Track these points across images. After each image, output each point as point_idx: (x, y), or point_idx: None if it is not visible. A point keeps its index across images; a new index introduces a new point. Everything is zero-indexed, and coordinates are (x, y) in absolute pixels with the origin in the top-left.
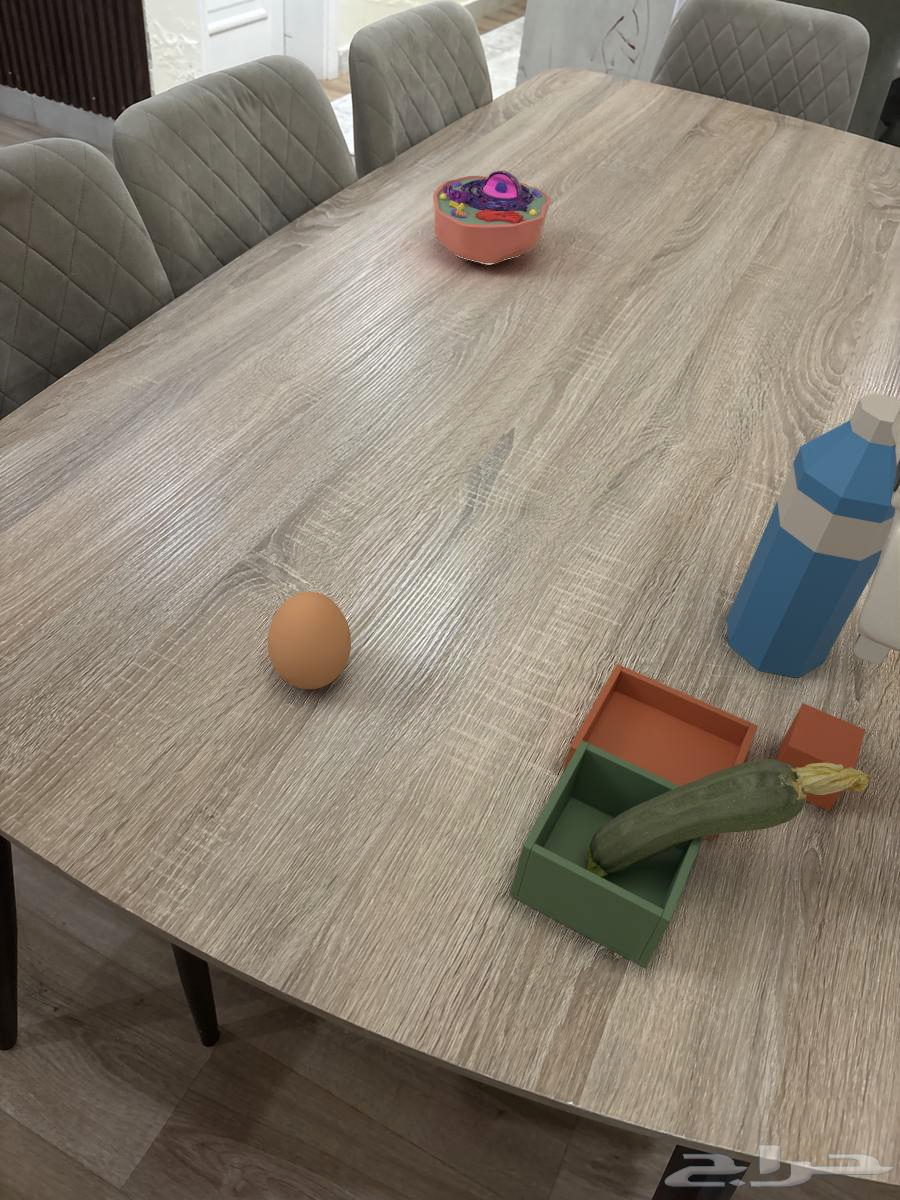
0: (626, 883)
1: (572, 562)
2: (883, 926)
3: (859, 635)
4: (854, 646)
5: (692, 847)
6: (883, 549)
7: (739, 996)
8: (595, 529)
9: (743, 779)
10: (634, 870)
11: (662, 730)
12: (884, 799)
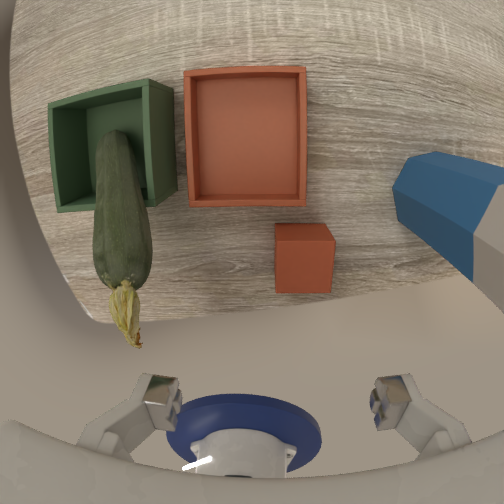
0: None
1: (420, 15)
2: (205, 312)
3: (157, 386)
4: (148, 376)
5: None
6: (187, 501)
7: None
8: (464, 30)
9: (100, 240)
10: (137, 162)
11: (275, 129)
12: (307, 299)
